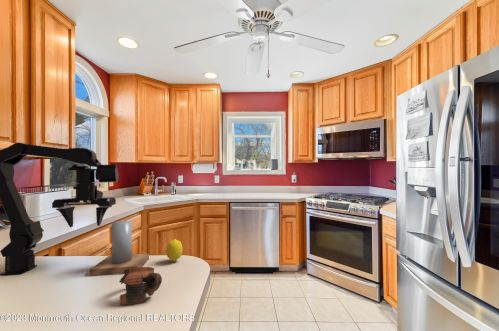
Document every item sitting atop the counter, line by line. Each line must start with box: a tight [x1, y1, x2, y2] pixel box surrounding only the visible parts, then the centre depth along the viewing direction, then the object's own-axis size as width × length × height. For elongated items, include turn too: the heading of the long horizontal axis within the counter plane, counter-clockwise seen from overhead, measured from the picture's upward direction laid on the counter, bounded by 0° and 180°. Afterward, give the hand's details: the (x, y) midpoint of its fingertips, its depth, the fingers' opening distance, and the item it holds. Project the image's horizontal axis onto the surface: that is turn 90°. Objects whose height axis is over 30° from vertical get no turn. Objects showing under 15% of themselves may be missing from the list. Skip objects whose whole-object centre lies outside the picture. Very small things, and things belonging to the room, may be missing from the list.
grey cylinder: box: [111, 220, 133, 264], centre depth 80 cm, size 6×6×13 cm
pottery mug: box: [118, 266, 163, 306], centre depth 60 cm, size 12×10×8 cm
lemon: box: [165, 238, 184, 262], centre depth 84 cm, size 6×6×8 cm
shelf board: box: [89, 253, 150, 277], centre depth 79 cm, size 14×12×2 cm
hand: (85, 226), depth 84 cm, fingers open, 9 cm apart
